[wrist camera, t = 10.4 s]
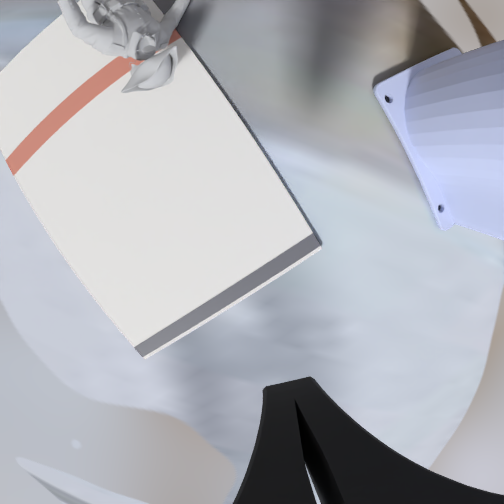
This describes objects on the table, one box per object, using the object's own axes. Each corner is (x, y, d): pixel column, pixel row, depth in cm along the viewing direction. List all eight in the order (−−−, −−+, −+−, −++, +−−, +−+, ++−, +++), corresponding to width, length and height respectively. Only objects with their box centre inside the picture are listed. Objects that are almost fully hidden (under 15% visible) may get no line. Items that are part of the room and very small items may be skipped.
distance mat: (321, 247, 17) (322, 248, 17) (145, 357, 18) (144, 359, 18) (127, -29, 12) (126, -31, 12) (-21, 99, 13) (-23, 98, 13)
